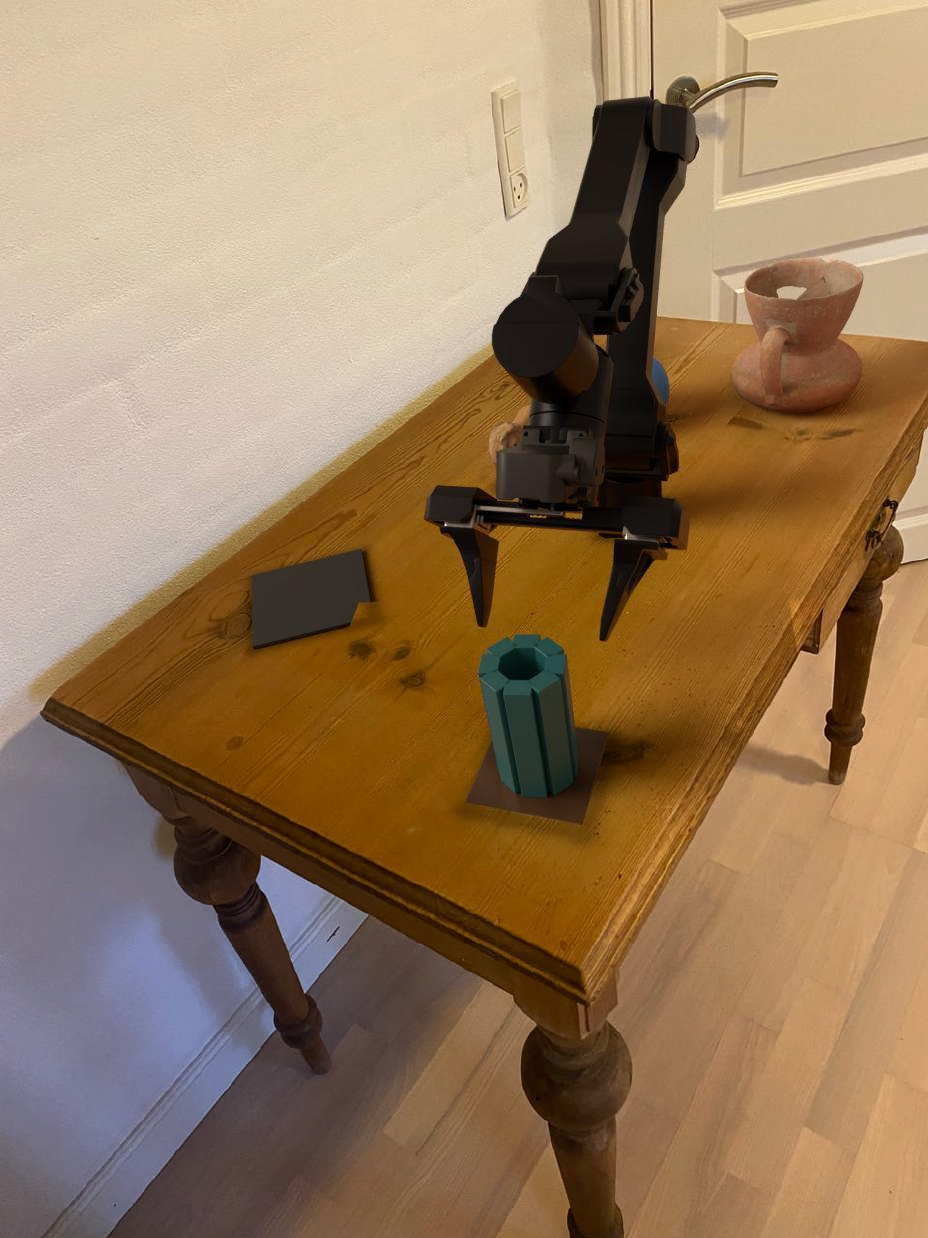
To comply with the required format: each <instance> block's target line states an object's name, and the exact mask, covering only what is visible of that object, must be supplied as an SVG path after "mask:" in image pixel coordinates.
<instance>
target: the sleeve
mask: <svg viewBox="0 0 928 1238" xmlns="http://www.w3.org/2000/svg"><path fill="white" fill-rule="evenodd" d="M485 651H486V653H482V654H481V657H480V661H479V666H478V670H477V675H478V680H479V684H480V689H481V694H482V699H483V704H484V709H485V713H486V714H485V715H486V718H487V723H488V728H489V732H490V738H491V740H492V743H493V748H494V752H495V757H496V762H497V767H498V771H499V774H500V777H501V780H502V781H503V782H504V783H505V784H506V785H507V786H508V787H509V788H510V789H511V790H512V791H513V792H514V793H515V794H517V793H518V792H520V791H521V793H522V797H538V798H547V796H548V790H549V791H550V792H551V793H552V794H553V795H554V796H555V795H556V794H558V793H559V792H560V791H562V790H563V789H565V788H566V787H568V786H569V785H570V784H572V783H573V777H577V773H578V762H579V755H578V746H577V738H576V729H575V727H576V720H575V713H574V705H573V696H572V688H571V687H572V686H571V680H570V671H569V670H570V669H569V661H568V655H567V653H565V649H564V647H562V646H560V645H559V644H558V643H557V642H555V641H554V640H553V639H551V638H550V637H548V636H545V637H543V638H542V637H541V634H540V633H536V634H533V633H531V634H530V633H529V634H528V633H527V634H526V633H525V634H524V633H521V634H514V635H513V638H512V639H511V638H509V637H508V636H505V637H503V638H502V639H501V640H498V641H497V642H495V643H493V644H492V645H490V646H488V647H487V648H486V650H485Z"/></svg>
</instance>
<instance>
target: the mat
mask: <svg viewBox="0 0 928 1238" xmlns="http://www.w3.org/2000/svg"><path fill="white" fill-rule="evenodd" d="M365 565H366V564H365V559H364V555H363V550H362V548H357V549H354V550H350V551H346V552H341V553H337V554H333V555H329V556H325V557H321V558H317V559H313V560H308V561H304V562H300V563H296V564H293V565H288V566H285V567H279V568H276V569H273V570H268V571H264V572H259V573H255V574H252V575H251V576H252V577H251V591H252V592H251V605H252V607H251V608H252V609H251V611H252V612H251V613H252V614H251V617H252V621H251V624H252V627H251V628H252V633H251V634H252V635H251V637H252V638H251V640H252V641H251V642H252V649H253V650H256V649H260V648H265V647H269V646H273V645H278V644H281V643H284V642H288V641H293V640H296V639H302V638H305V637H309V636H312V635H316V634H317V635H318V634H321V633H326V632H328V631H333V630H337V629H342V628H347V627H350V626H351V625H352V621H353V620H354V617H355V614H356V611H357V608H358V606H359V604H361V603H372V599H371V595H370V589H369V582H368V578H367V577H368V576H367V571H366V566H365Z"/></svg>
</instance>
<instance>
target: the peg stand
mask: <svg viewBox="0 0 928 1238" xmlns="http://www.w3.org/2000/svg"><path fill="white" fill-rule="evenodd" d="M575 729H576V738H577V746H578V755H579V762H578V773H577V777H573V783H572V784H570V785H569V786H568V787H566V788H565V789H563V790H562V791H560V792H559V793H558V794H556V795H555V796H554V795H553V794H552V793H551V792H550V791H549V790H548V796H547V798H538V797H522V793H521V791H520V792H518V793H517V794H515V793H514V792H513V791H512V790H511V789H510V788H509V787H508V786H507V785H506V784H505V783H504V782H503V781H502V780H501V777H500V774H499V771H498V767H497V762H496V757H495V752H494V748H493V743H492V739H491V740H490V743H489V745H488V748H487V750H486V752H485V755H484V757H483V760H482V762H481V764H480V767H479V769H478V771H477V774H476V777H475V778H474V781H473V783H472V786H471V788H470V790H469V793H468V795H467V797H466V800H465V803H466V804H471V805H476V806H481V807H487V808H492V809H498V810H501V811H508V812H513V813H518V814H522V815H523V814H524V815H528V816H534V817H538V818H544V819H549V820H555V821H559V822H564V823H569V824H570V823H571V824H576V825H581V826H582V825H583V822H584V819H585V815H586V812H587V810H588V806H589V803H590V799H591V796H592V793H593V790H594V786H595V783H596V779H597V776H598V772H599V769H600V766H601V762H602V759H603V756H604V753H605V749H606V747H607V742H608V739H609V737H610V732H609V731H603V730H597V729H590V728H584V727H576V726H575Z"/></svg>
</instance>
